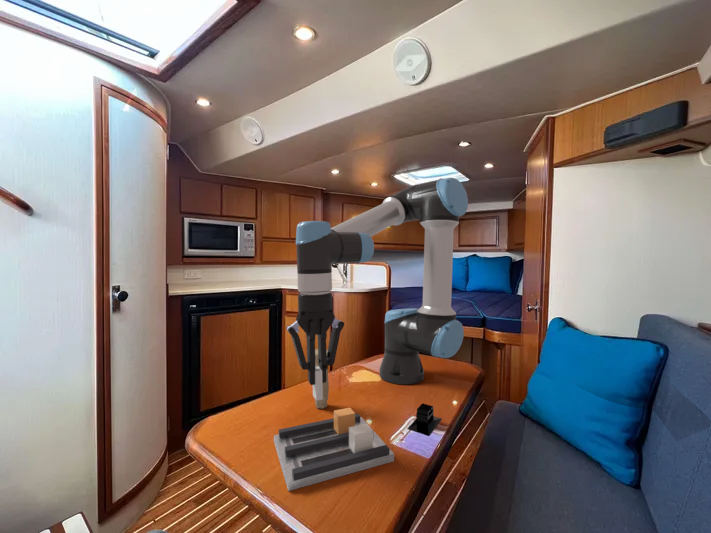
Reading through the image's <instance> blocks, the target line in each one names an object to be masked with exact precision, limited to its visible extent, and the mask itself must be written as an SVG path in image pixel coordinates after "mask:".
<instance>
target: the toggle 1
mask: <svg viewBox="0 0 711 533" xmlns="http://www.w3.org/2000/svg"><path fill="white" fill-rule="evenodd" d="M355 414H356V412H355V411H354V410H353V409H352V408H351V407H346V408H340V409H335V410H333V418H334V429H335V431H336V432H337V434H338V435H339V434H343V433H348V432H349V427H353V426H355Z"/></svg>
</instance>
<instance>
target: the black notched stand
mask: <svg viewBox="0 0 711 533" xmlns="http://www.w3.org/2000/svg"><path fill="white" fill-rule="evenodd" d="M434 413H435V410H434V406H433V405H429V404H427V403H421V404H420V405H419V406H418V407H416V417H415V419H414V420H413V421H412V423H411V424H410V425H409V426H408V427H407V428H406V429H407V430H409V431H412V432H415V433H418V434H421V435H424V436H427V437H431V435H432V433H433V432H434V431H435V429H436V428H437V427H438V426H439V424H440V423H441V421H442V420H443V418H441V417H437V416H435V415H434Z"/></svg>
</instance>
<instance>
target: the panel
mask: <svg viewBox="0 0 711 533" xmlns="http://www.w3.org/2000/svg"><path fill="white" fill-rule="evenodd" d="M366 423H367V422H366V420H365V419H364V418H363V417H362V416H360V421H358V422H357V421H356V422H355V426H357V425H362V424H366ZM368 426H369V427H371V426H370V425H369V424H368ZM372 430H373V448H376V447H380V446H384V445H387V444H386V443H385V442H384V440H383V439H382V438H381V437H380V436H379V435H378V434H377V433H376V432H375V430H374V429H373V428H372ZM343 434H344V433H343ZM335 435H338V434H337V432H336V431H335V429H334V427H330V428H325V429H320V430H316V431H311V432H306V433H302V434H297V435H293V436H286V437H283V438H280V437H279V433H278V434H274V435H273V444H274V446H275V449H276V453H277V456H278V457H277V458H278V461H279V464H280V468H281V471H282V474H283V477H284V478H283V479H284V481H285V484H286V488H287V490H288V492H291V491H293V490H297V489H300V488H304V487H308V486H312V485H314V484H319V483H322V482H325V481H329V480H332V479H335V478H336V479H337V478H339V477H343V476H346V475H349V474H353V473H356V472H357V473H358V472H360V471H364V470H367V469H372V468H374V467H378V466H381V465H384V464H385V465H386V464H389V463H392V462H395V453H394V452H393V450H391V449H390V454H389V455H386V456H383V457H379V458H375V459H372V460H368V461H364V462H361V463H357V464H353V465H350V466H346V467H342V468H338V469H335V470H331V471H327V472H324V473H320V474H316V475H313V476H309V477H305V478H302V479H298V480H294V479H293V476H292V469H294V468H298V467H302V466H306V465H310V464H313V463H317V462H321V461H325V460H329V459H333V458H337V457H341V456H345V455H349V454H352V453H353V452H352V450H351V449H350V447H349V442H346V443H342V444H338V445H334V446H329V447H325V448H321V449H317V450H313V451H309V452H304V453H300V454H296V455H291V456H288V457H286V455H285V447H287V446H291V445H295V444H300V443H304V442H309V441H313V440H317V439H322V438H326V437H331V436H335Z"/></svg>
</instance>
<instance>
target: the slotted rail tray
mask: <svg viewBox="0 0 711 533" xmlns="http://www.w3.org/2000/svg"><path fill="white" fill-rule="evenodd" d="M360 417H361V414H359V413H355V422H356V421H357V422H358V421H360ZM330 427H334V417H333V418H329V419H328V418H327V419H324V420H323V419H322V420H319V421H315V422H308V423H305V424H300V425H293V426H289V427H284V428H279V429H278V434H279V437H280V438H283V437H286V436H293V435H297V434H302V433H306V432H311V431H316V430H320V429H325V428H330ZM370 428H371V429H373V428H372V427H371V426H370ZM346 442H349V432H348V433H344V434H339V435H335V436H331V437H326V438H322V439H317V440H313V441H309V442H304V443H300V444H295V445H291V446H287V447H285V455H286V457H288V456H291V455H296V454H300V453H304V452H309V451H313V450H317V449H321V448H325V447H329V446H334V445H338V444H342V443H346ZM390 450H391V448H390V447H389V446H388V445H387V444H386V445H384V446H380V447H376V448H372V449H368V450H364V451H360V452H356V453H352V454H349V455H345V456H341V457H337V458H333V459H329V460H325V461H321V462H317V463H313V464H310V465H306V466H302V467H298V468H294V469H292V476H293V479H294V480H298V479H302V478H305V477H309V476H313V475H316V474H320V473H324V472H327V471H331V470H335V469H338V468H342V467H346V466H350V465H353V464H357V463H361V462H364V461H368V460H372V459H375V458H379V457H383V456H386V455H389V454H390Z"/></svg>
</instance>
